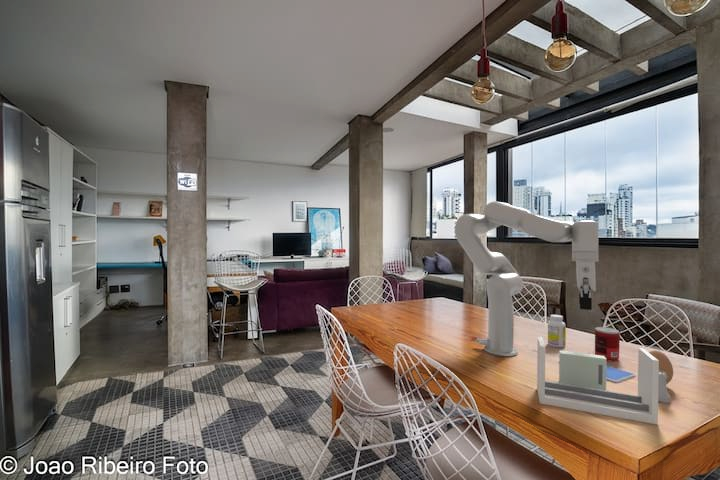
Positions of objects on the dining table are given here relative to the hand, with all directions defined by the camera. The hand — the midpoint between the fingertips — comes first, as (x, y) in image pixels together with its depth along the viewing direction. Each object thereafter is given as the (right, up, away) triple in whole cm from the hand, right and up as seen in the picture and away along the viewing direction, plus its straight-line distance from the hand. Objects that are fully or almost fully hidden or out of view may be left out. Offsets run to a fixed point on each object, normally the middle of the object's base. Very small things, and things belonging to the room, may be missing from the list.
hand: (585, 306), depth 115 cm
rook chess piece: (+9, -23, -18) cm, 31 cm away
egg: (+17, -23, -8) cm, 30 cm away
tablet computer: (+6, -24, +4) cm, 25 cm away
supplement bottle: (+8, -23, +31) cm, 39 cm away
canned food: (+19, -23, +16) cm, 34 cm away
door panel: (-8, -23, -9) cm, 26 cm away
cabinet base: (-13, -23, -21) cm, 34 cm away
